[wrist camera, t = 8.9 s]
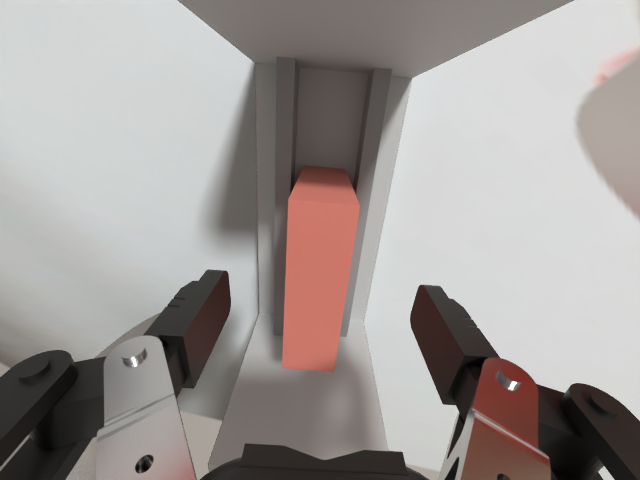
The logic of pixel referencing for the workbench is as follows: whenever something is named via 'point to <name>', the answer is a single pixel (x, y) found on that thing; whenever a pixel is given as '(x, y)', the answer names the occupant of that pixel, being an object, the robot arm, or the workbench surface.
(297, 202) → the red rectangular block
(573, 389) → the robot arm
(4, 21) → the workbench surface
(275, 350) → the u-shaped grey holder
